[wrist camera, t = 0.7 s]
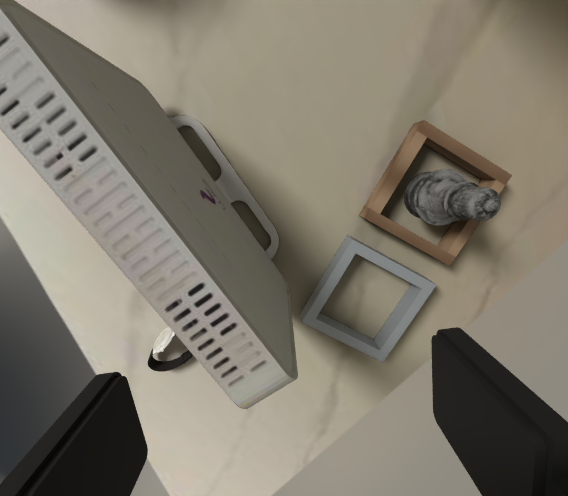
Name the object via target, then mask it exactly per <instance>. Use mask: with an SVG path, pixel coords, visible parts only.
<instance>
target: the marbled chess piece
mask: <svg viewBox="0 0 568 496" xmlns="http://www.w3.org/2000/svg"><path fill="white" fill-rule="evenodd" d="M404 202H405V205H406V208H407V209H408V211H409V212H410V213H411V214H413V215H414V216H416V217H420V218H421V219H422V220H424V221H425V222H427V223H428V224H432V225H436V226H442V225H447V224H450V223H452V222H454V221H456V220H458V221H463V220H468V219H471V220H475V221H486V220H489V219H491V218H492V217H493V216H495V215H496V213H497V212H498V211H499V208H500V205H501V198H500V196H499V194H498V193H497V192H496V191H495V190H493V189H491V188H487V187H479V186H478V185H476V184H475V183H472V182H468V181H467V180H466V179H465V177H464V176H463V175H462V174H460V173H459V172H457V171H454V170H451V169H441V170H436V171H434V172H424V173H421V174H419V175H417V176H415V177H414V178H413V179H412V180H411V181H410V182H409V183H408V185H407V187H406V189H405V193H404Z"/></svg>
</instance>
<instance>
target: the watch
mask: <svg viewBox="0 0 568 496" xmlns="http://www.w3.org/2000/svg"><path fill="white" fill-rule="evenodd" d="M174 335H176V334H175V333H174V332H173V331H172V330H171V328H170V327H168V328H166V329H165V330H164V331H163V332H162V333H161V334H160V335H159V337H158V338H157V340H156V341H155V344H154V347H153V349H152V351H151V354H150V357H149V360H148V366H149V367H150V368H151V369H152V370H154V371H168V370H171V369H174V368H176V367H178V366H180V365H182V364H183V363H185V362H186V361H188V360H189V359H190V358H191V357H192V355H193V354H192V353H191V352H190V351H189V350H188V351H186V352H185V353H183V354H182V355H181V357H179V358H177V359H174V360H171V361H167V362H162V361H158V360H155V359H154V358H153V356H152V355H153V354H154V353H155V352H156V353H159V352H161V351H162V352H163V351H164V349H165V348H166V346H167V345H168V344H169V343H170V341H171V340H172V338H173V336H174Z"/></svg>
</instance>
